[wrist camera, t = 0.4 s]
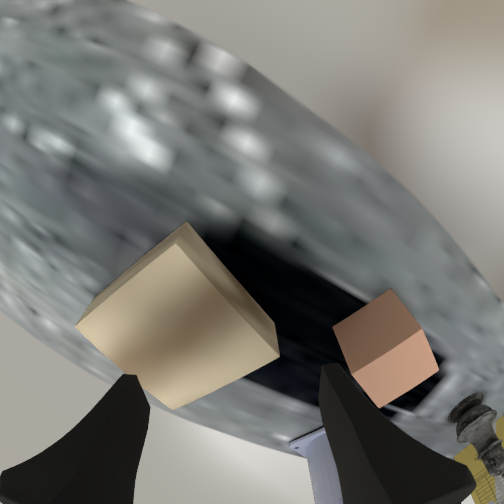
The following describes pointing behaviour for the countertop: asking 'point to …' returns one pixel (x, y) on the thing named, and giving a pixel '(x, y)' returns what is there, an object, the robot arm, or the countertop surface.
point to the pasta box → (484, 471)
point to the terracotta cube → (385, 348)
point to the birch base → (180, 322)
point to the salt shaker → (479, 432)
